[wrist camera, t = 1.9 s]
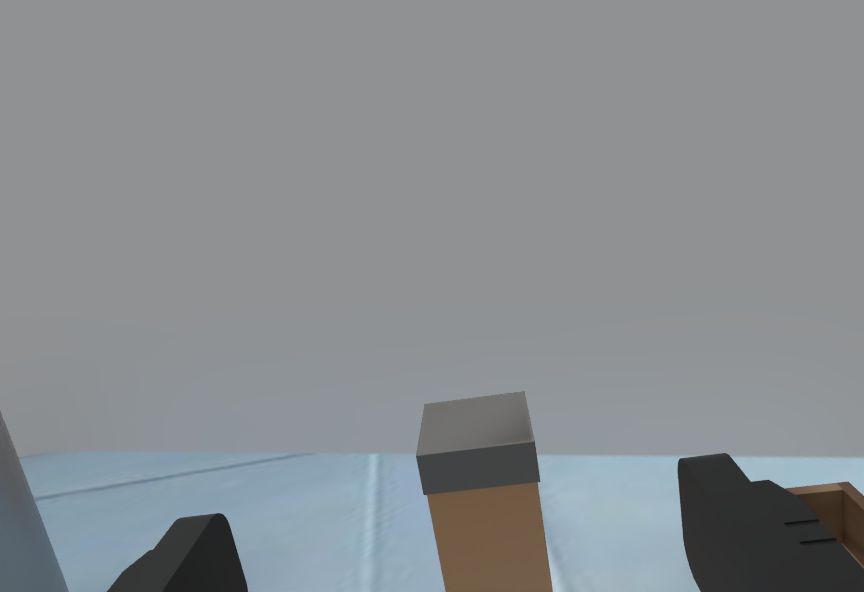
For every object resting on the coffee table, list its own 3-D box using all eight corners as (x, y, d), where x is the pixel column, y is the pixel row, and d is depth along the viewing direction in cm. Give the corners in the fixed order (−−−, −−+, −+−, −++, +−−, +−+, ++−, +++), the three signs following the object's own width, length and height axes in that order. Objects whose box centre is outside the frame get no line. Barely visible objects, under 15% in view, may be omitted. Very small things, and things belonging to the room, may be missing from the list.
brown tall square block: (474, 756, 25) (416, 455, 22) (474, 669, 29) (424, 404, 26) (577, 749, 25) (534, 441, 21) (562, 662, 29) (524, 391, 25)
